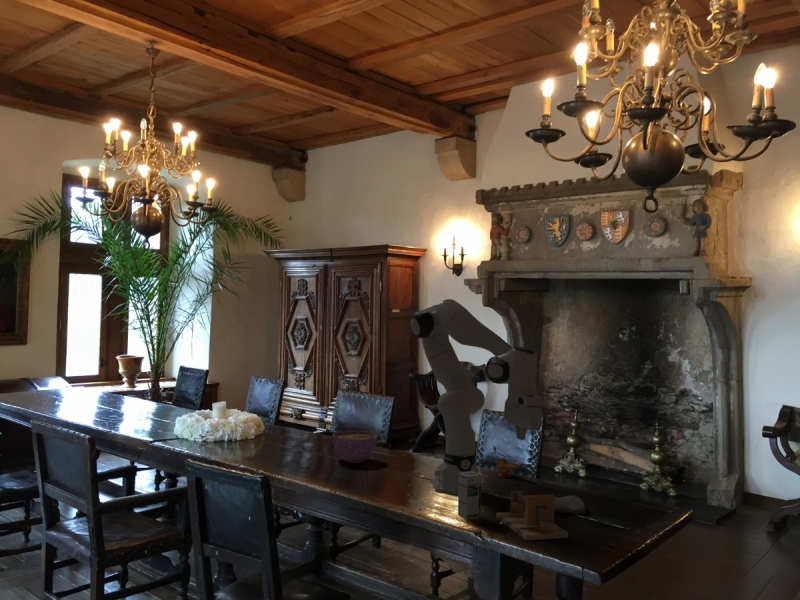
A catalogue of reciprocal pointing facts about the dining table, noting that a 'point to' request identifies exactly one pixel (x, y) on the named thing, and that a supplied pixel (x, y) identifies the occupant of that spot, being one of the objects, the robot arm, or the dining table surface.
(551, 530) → the pipe stand
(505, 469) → the magic lamp
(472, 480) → the syrup box
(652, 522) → the dining table surface
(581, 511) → the stone block
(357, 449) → the bowl of food
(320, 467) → the dining table surface
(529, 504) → the collar
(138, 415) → the dining table surface
